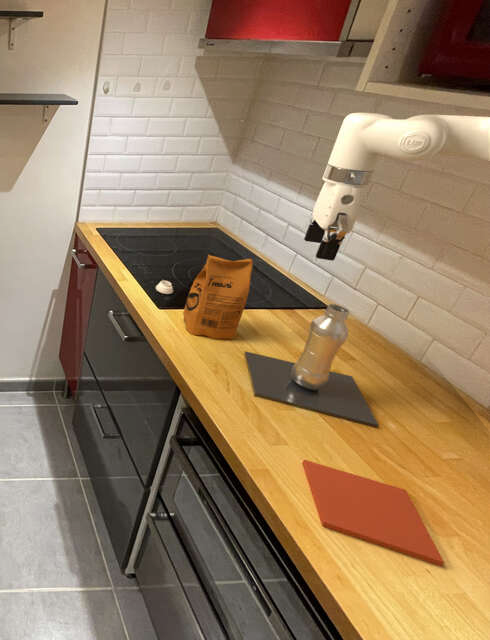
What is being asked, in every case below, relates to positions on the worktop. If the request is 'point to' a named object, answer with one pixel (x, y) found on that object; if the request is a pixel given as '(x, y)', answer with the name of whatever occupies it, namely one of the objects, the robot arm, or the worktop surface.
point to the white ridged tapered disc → (164, 287)
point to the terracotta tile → (370, 511)
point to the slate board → (308, 390)
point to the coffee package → (218, 298)
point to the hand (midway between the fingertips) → (318, 249)
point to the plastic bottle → (321, 348)
